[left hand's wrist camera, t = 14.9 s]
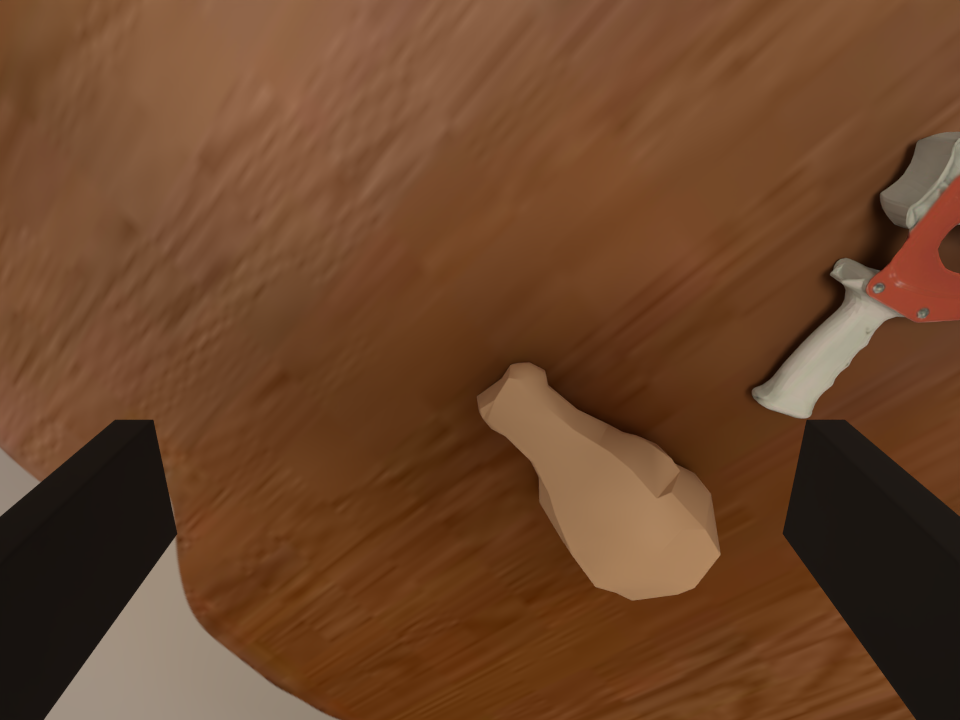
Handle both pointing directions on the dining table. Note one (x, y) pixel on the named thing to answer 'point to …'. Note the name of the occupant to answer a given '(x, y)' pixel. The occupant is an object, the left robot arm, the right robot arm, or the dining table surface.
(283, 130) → the dining table surface
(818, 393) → the tape dispenser
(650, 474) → the squash
